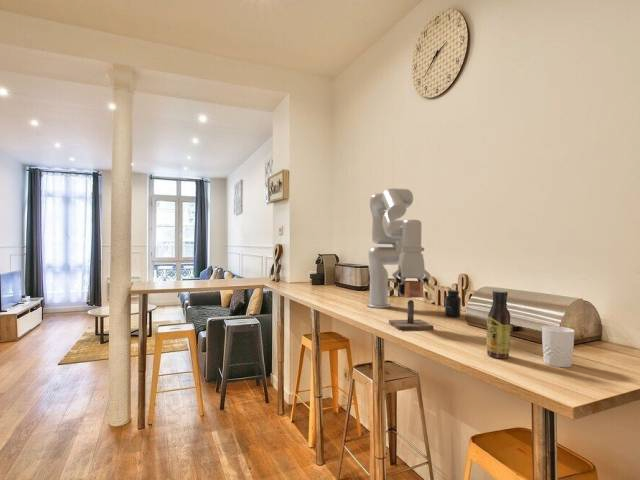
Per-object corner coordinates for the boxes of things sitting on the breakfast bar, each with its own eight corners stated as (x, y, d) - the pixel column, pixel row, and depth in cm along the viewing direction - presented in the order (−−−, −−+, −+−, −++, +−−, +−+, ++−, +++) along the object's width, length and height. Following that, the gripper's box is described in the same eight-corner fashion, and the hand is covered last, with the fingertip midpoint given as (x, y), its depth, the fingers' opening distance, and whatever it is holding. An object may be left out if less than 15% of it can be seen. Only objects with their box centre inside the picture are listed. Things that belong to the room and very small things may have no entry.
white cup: (562, 369, 100) (562, 333, 100) (535, 361, 107) (535, 326, 107) (580, 366, 103) (580, 330, 103) (552, 358, 110) (553, 324, 110)
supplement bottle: (444, 316, 170) (444, 290, 170) (445, 314, 176) (445, 289, 177) (460, 318, 168) (460, 291, 168) (460, 315, 174) (461, 290, 174)
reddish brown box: (399, 295, 151) (399, 280, 152) (415, 295, 153) (415, 280, 153) (406, 297, 145) (406, 282, 145) (423, 297, 146) (423, 282, 146)
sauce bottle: (483, 352, 114) (484, 289, 114) (503, 353, 114) (504, 289, 114) (492, 359, 108) (493, 291, 108) (514, 360, 108) (514, 292, 108)
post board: (388, 323, 153) (389, 298, 154) (420, 323, 156) (420, 297, 156) (399, 330, 142) (399, 302, 142) (433, 329, 144) (433, 302, 144)
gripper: (427, 250, 154) (427, 292, 154) (387, 249, 151) (387, 293, 151) (436, 250, 146) (435, 295, 146) (394, 250, 144) (393, 295, 144)
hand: (411, 293), depth 149 cm, fingers closed on reddish brown box, 7 cm apart
